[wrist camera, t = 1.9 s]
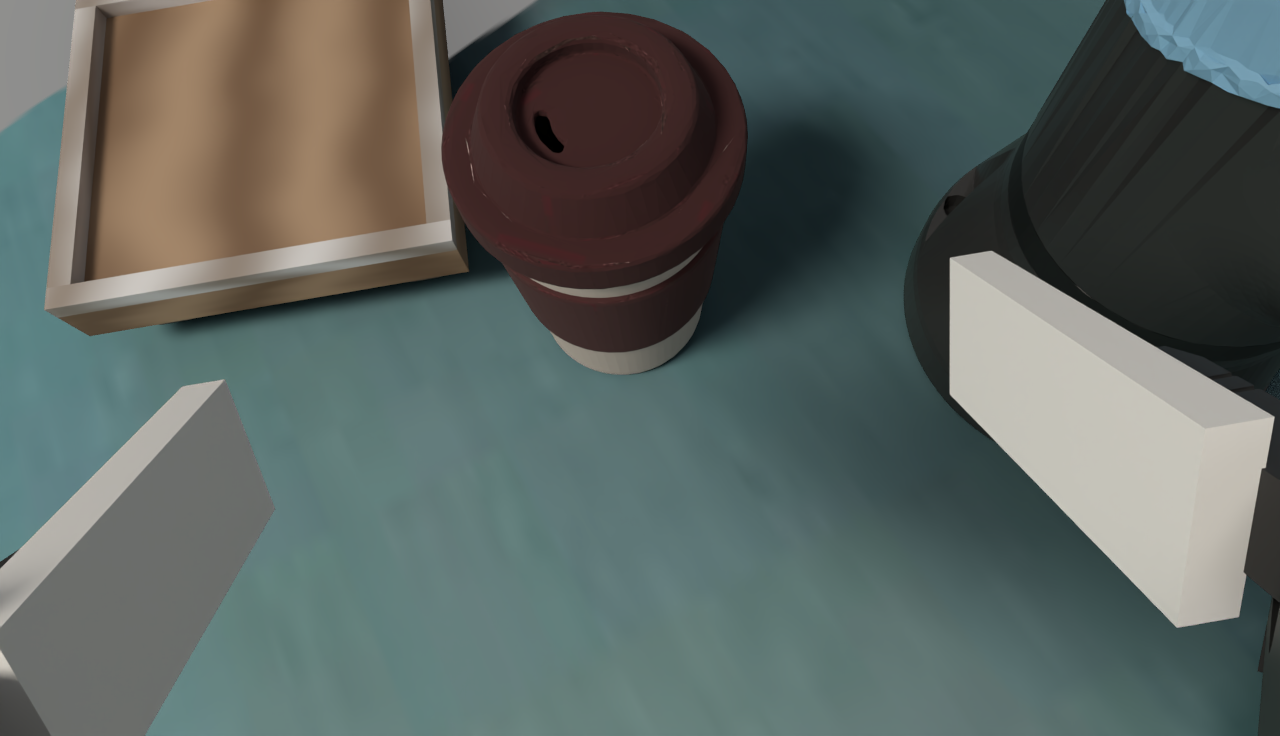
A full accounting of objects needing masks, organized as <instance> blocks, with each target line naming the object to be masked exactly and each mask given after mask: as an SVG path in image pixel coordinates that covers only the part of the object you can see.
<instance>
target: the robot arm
mask: <svg viewBox="0 0 1280 736" xmlns="http://www.w3.org/2000/svg"><path fill="white" fill-rule="evenodd" d="M904 310H905V318H906V324H907V328H908V332H909V336H910V339H911V342H912V345H913V348H914V350H915V353H916V355H917V357H918V360H919V362H920V364H921V365H922V367H923V369H924V371H925V373H926V374H927V376H928V378H929V379H930V381H931V382H932V384H933V385H934V387H935V388H936V389H937V391H938V392H939V393H940V394H941V396H942V397H943V398H944V399H945V401H946V402H947V403H948V404H949V405H950V406H951V407H952V408H953V409H954V410H955V411H956V412H957V413H958V414H959V415H960V416H961V417H962V418H963V419H964V420H965V421H967V422H968V423H969V424H970V425H972V426H973V427H974V428H975V429H977V430H978V431H979V432H981V433H982V434H984V435H985V436H987V437H988V438H990V439H991V440H993V441H994V442H996V443H998V444H999V445H1000V446H1001V447H1002V449H1003V450H1004V451H1005V452H1006V453H1007V454H1008V455H1009V456H1010V457H1011V458H1012V459H1013V460H1014V461H1015V462H1016V463H1017V464H1018V465H1019V466H1020V467H1021V468H1022V469H1023V470H1024V471H1025V472H1026V473H1027V474H1028V475H1029V476H1030V477H1031V478H1032V479H1033V480H1034V481H1035V482H1036V483H1037V484H1038V486H1039V487H1040V488H1041V489H1042V490H1043V491H1044V492H1045V493H1046V494H1047V495H1048V496H1049V497H1050V498H1051V499H1052V500H1053V501H1054V502H1055V503H1056V504H1057V505H1058V506H1059V507H1060V508H1061V509H1062V510H1063V511H1064V512H1065V513H1066V514H1067V515H1068V516H1069V517H1070V518H1071V519H1072V520H1073V521H1074V522H1075V524H1076V525H1077V526H1078V527H1079V528H1080V529H1081V530H1082V531H1083V532H1084V533H1085V534H1086V535H1087V536H1088V537H1089V538H1090V539H1091V540H1092V541H1093V542H1094V543H1095V544H1096V545H1097V546H1098V547H1099V548H1100V549H1101V550H1102V551H1103V552H1104V553H1105V554H1106V555H1107V556H1108V557H1109V558H1110V559H1111V561H1112V562H1113V563H1114V564H1115V565H1116V566H1117V567H1118V568H1119V569H1120V570H1121V571H1122V572H1123V573H1124V574H1125V575H1126V576H1127V577H1128V578H1129V579H1130V580H1131V581H1132V582H1133V583H1134V584H1135V585H1136V586H1137V587H1138V588H1139V589H1140V590H1141V591H1142V592H1143V593H1144V594H1145V595H1146V596H1147V597H1148V599H1149V600H1150V601H1151V602H1152V603H1153V604H1154V605H1155V606H1156V607H1157V608H1158V609H1159V610H1160V611H1161V612H1162V613H1163V614H1164V615H1165V616H1166V617H1167V618H1168V619H1169V620H1170V621H1171V622H1172V623H1173V624H1174V625H1175V626H1176V627H1177V628H1179V627H1184V626H1190V625H1196V624H1202V623H1207V622H1213V621H1219V620H1225V619H1230V618H1236V617H1239V613H1240V608H1241V602H1242V597H1243V591H1244V586H1245V580H1246V575H1247V576H1248V577H1250V578H1251V579H1252V580H1253V581H1254V582H1256V583H1257V584H1258V585H1259V586H1260V587H1261V588H1263V589H1264V590H1265V591H1266V592H1267V593H1269V594H1270V595H1271V596H1272V601H1271V606H1270V611H1269V616H1268V621H1267V626H1266V631H1265V636H1264V641H1263V646H1262V651H1261V656H1260V661H1259V667H1258V671H1259V672H1263V679H1262V691H1261V703H1260V715H1259V727H1258V736H1280V400H1279V399H1277V398H1276V397H1274V396H1272V395H1270V394H1268V393H1267V392H1265V391H1266V390H1267V388H1268V386H1269V384H1270V382H1271V380H1272V378H1273V377H1274V375H1275V374H1276V372H1277V371H1278V370H1279V368H1280V0H1106V1H1105V3H1104V5H1103V6H1102V8H1101V10H1100V11H1099V13H1098V15H1097V16H1096V18H1095V20H1094V21H1093V23H1092V25H1091V26H1090V28H1089V30H1088V31H1087V33H1086V35H1085V36H1084V38H1083V40H1082V41H1081V43H1080V45H1079V46H1078V48H1077V50H1076V51H1075V53H1074V55H1073V56H1072V58H1071V60H1070V61H1069V63H1068V65H1067V66H1066V68H1065V70H1064V71H1063V73H1062V75H1061V76H1060V78H1059V80H1058V81H1057V83H1056V85H1055V86H1054V88H1053V90H1052V92H1051V93H1050V95H1049V97H1048V98H1047V100H1046V102H1045V103H1044V105H1043V107H1042V108H1041V110H1040V112H1039V113H1038V115H1037V117H1036V119H1035V121H1034V122H1033V124H1032V126H1031V127H1030V129H1029V130H1028V132H1027V133H1026V134H1024V135H1023V136H1021V137H1020V138H1018V139H1017V140H1015V141H1014V142H1012V143H1011V144H1009V145H1008V146H1006V147H1005V148H1003V149H1002V150H1000V151H999V152H997V153H996V154H994V155H993V156H991V157H990V158H988V159H987V160H985V161H984V162H982V163H981V164H979V165H978V166H976V167H975V168H973V169H972V170H971V171H969V172H968V173H967V174H965V175H964V176H963V177H962V178H961V179H960V180H958V181H957V182H956V183H955V184H954V185H953V186H952V187H951V188H950V189H949V190H948V192H947V193H946V194H945V195H944V196H943V197H942V199H941V200H940V201H939V202H938V204H937V205H936V207H935V208H934V210H933V211H932V213H931V215H930V216H929V218H928V220H927V222H926V224H925V226H924V228H923V230H922V232H921V233H920V235H919V237H918V239H917V241H916V244H915V246H914V248H913V250H912V253H911V256H910V259H909V262H908V266H907V270H906V276H905V283H904ZM274 510H275V507H274V505H273V502H272V500H271V497H270V494H269V492H268V489H267V487H266V484H265V481H264V479H263V476H262V474H261V471H260V469H259V466H258V463H257V461H256V458H255V456H254V453H253V450H252V448H251V445H250V443H249V440H248V437H247V435H246V432H245V430H244V427H243V424H242V422H241V419H240V417H239V414H238V412H237V409H236V406H235V404H234V401H233V399H232V396H231V393H230V391H229V388H228V386H227V383H226V380H225V379H224V380H218V381H213V382H207V383H201V384H195V385H189V386H183V387H181V388H180V389H179V390H178V391H177V392H176V393H175V394H174V395H173V396H172V397H171V398H170V399H169V400H168V401H167V402H166V403H165V404H164V405H163V406H162V407H161V408H160V409H159V410H158V411H157V412H156V413H155V414H154V415H153V416H152V417H151V418H150V419H149V420H148V421H147V422H146V423H145V424H144V425H143V426H142V427H141V428H140V429H139V430H138V431H137V432H136V433H135V434H134V435H133V436H132V437H131V438H130V439H129V440H128V441H127V442H126V443H125V444H124V445H123V446H122V447H121V448H120V449H119V450H118V451H117V452H116V453H115V454H114V455H113V456H112V457H111V458H110V459H109V460H108V461H107V462H106V463H105V464H104V465H103V466H102V467H101V468H100V469H99V470H98V471H97V472H96V473H95V474H94V475H93V476H92V477H91V478H90V479H89V480H88V481H87V482H86V483H85V484H84V485H83V486H82V487H81V488H80V489H79V490H78V491H77V492H76V493H75V494H74V495H73V496H72V497H71V498H70V499H69V500H68V501H67V502H66V503H65V504H64V505H63V506H62V507H61V508H60V509H59V510H58V511H57V512H56V513H55V514H54V515H53V516H52V517H51V518H50V519H49V520H48V521H47V522H46V523H45V524H44V525H43V526H42V527H41V528H40V529H39V530H38V531H37V532H36V533H35V534H34V535H33V536H32V537H31V538H30V539H29V540H28V541H27V542H26V543H25V544H24V545H23V546H22V547H21V548H20V549H19V550H17V551H16V552H14V553H13V554H11V555H10V556H8V557H7V558H5V559H4V560H2V561H1V562H0V736H145V734H146V732H147V730H148V729H149V727H150V725H151V724H152V722H153V720H154V718H155V717H156V715H157V713H158V711H159V710H160V708H161V706H162V704H163V703H164V701H165V699H166V697H167V696H168V694H169V692H170V691H171V689H172V687H173V685H174V684H175V682H176V680H177V678H178V677H179V675H180V673H181V671H182V670H183V668H184V666H185V664H186V663H187V661H188V659H189V658H190V656H191V654H192V652H193V651H194V649H195V647H196V645H197V644H198V642H199V640H200V638H201V637H202V635H203V633H204V632H205V630H206V628H207V626H208V625H209V623H210V621H211V619H212V618H213V616H214V614H215V612H216V611H217V609H218V607H219V605H220V604H221V602H222V600H223V599H224V597H225V595H226V593H227V592H228V590H229V588H230V586H231V585H232V583H233V581H234V579H235V578H236V576H237V574H238V572H239V571H240V569H241V567H242V566H243V564H244V562H245V560H246V559H247V557H248V555H249V553H250V552H251V550H252V548H253V546H254V545H255V543H256V541H257V539H258V538H259V536H260V534H261V533H262V531H263V529H264V527H265V526H266V524H267V522H268V520H269V519H270V517H271V515H272V513H273V512H274Z"/></svg>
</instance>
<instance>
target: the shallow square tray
mask: <svg viewBox="0 0 1280 736" xmlns="http://www.w3.org/2000/svg"><path fill="white" fill-rule="evenodd" d="M451 104H452V91H451V81H450V71H449V61H448V50H447V40H446V30H445V20H444V10H443V0H76V5H75V16H74V25H73V34H72V44H71V54H70V64H69V74H68V83H67V93H66V103H65V112H64V122H63V132H62V142H61V151H60V161H59V171H58V181H57V190H56V200H55V210H54V220H53V229H52V239H51V249H50V259H49V268H48V278H47V288H46V298H45V308H44V310H45V311H47V312H49V313H51V314H52V315H54V316H56V317H58V318H59V319H61V320H63V321H64V322H66V323H68V324H70V325H71V326H73V327H75V328H77V329H78V330H80V331H82V332H84V333H85V334H87V335H89V336H93V335H99V334H105V333H111V332H116V331H122V330H128V329H134V328H140V327H146V326H152V325H158V324H160V325H163V324H169V323H175V322H181V321H187V320H190V319H193V318H199V317H205V316H210V315H216V314H222V313H228V312H234V311H240V310H246V309H252V308H257V307H263V306H269V305H275V304H281V303H287V302H293V301H299V300H305V299H310V298H316V297H322V296H328V295H334V294H340V293H346V292H352V291H357V290H363V289H369V288H375V287H381V286H387V285H393V284H399V283H404V282H410V281H412V282H416V281H422V280H427V279H433V278H439V277H440V276H446V275H451V274H457V273H463V272H469V266H468V256H467V245H466V235H465V225H464V220H463V219H462V217H461V215H460V212H459V210H458V208H457V206H456V204H455V202H454V200H453V198H452V196H451V194H450V191H449V189H448V186H447V183H446V179H445V175H444V171H443V165H442V155H441V145H442V134H443V129H444V124H445V121H446V117H447V114H448V111H449V109H450V106H451Z"/></svg>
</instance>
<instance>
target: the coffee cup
mask: <svg viewBox="0 0 1280 736" xmlns="http://www.w3.org/2000/svg"><path fill="white" fill-rule="evenodd" d="M747 139H748V132H747V120H746V114H745V109H744V106H743V103H742V99H741V97H740V94H739V92H738V90H737V88H736V85H735V83H734V82H733V80H732V78H731V77H730V75H729V73H728V72H727V70H726V69H725V67H724V66H723V65H722V64H721V63H720V62H719V61H718V60H717V59H716V57H715V56H714V55H713V54H712V53H711V52H710V51H709V50H708V49H707V48H705V47H704V46H703V45H701V44H700V43H699V42H697V41H696V40H695V39H693V38H692V37H691V36H689V35H688V34H686V33H684V32H683V31H680V30H678V29H676V28H674V27H671V26H669V25H667V24H664V23H662V22H659V21H657V20H654V19H650V18H646V17H641V16H637V15H632V14H625V13H611V12H589V13H582V14H576V15H569V16H563V17H560V18H556V19H553V20H549V21H546V22H543V23H541V24H538V25H535V26H533V27H531V28H529V29H527V30H524V31H522V32H520V33H518V34H516V35H514V36H513V37H511V38H510V39H508V40H507V41H505V42H504V43H503V44H501V45H500V46H498V47H497V48H495V49H494V50H492V51H491V52H490V53H489V54H488V55H487V56H486V57H485V58H484V59H483V60H482V61H480V62H479V63H478V64H477V65H476V67H475V68H474V69H473V70H472V72H471V73H470V74H469V75H468V77H467V78H466V80H465V81H464V82H463V84H462V85H461V87H460V88H459V89H458V91H457V93H456V95H455V97H454V100H453V102H452V104H451V106H450V109H449V111H448V114H447V117H446V121H445V124H444V129H443V134H442V145H441V155H442V165H443V171H444V175H445V179H446V183H447V186H448V189H449V191H450V194H451V196H452V198H453V200H454V202H455V204H456V206H457V208H458V210H459V212H460V215H461V217H462V219H463V220H464V222H465V224H466V225H467V227H468V229H469V230H470V232H471V233H472V234H473V236H474V237H475V238H476V239H477V241H478V242H479V243H480V244H481V245H482V246H483V247H484V249H485V250H486V251H488V252H489V253H490V254H491V255H493V256H494V257H495V258H496V259H497V260H499V261H500V262H502V264H503V265H504V267H505V268H506V270H507V272H508V273H509V275H510V276H511V278H512V280H513V281H514V283H515V284H516V286H517V288H518V289H519V291H520V293H521V294H522V296H523V297H524V299H525V301H526V302H527V304H528V305H529V307H530V309H531V310H532V312H533V313H534V314H535V316H536V317H537V318H538V319H539V320H540V322H541V323H542V324H543V325H544V326H545V327H546V328H547V329H548V330H549V331H550V332H551V333H552V335H553V337H554V338H555V340H556V342H557V343H558V344H559V346H560V347H561V348H562V349H563V350H564V351H565V352H566V353H567V354H568V355H569V356H570V357H571V358H573V359H574V360H576V361H577V362H579V363H580V364H582V365H584V366H586V367H588V368H590V369H593V370H596V371H599V372H603V373H607V374H617V375H627V374H635V373H641V372H644V371H648V370H650V369H653V368H655V367H657V366H660V365H662V364H663V363H665V362H666V361H668V360H669V359H671V358H672V357H674V356H675V355H676V354H677V353H678V352H679V351H680V350H681V349H682V348H683V347H684V346H685V345H686V343H687V342H688V341H689V339H690V338H691V336H692V334H693V333H694V331H695V328H696V326H697V324H698V321H699V318H700V314H701V309H702V304H703V301H704V300H705V298H706V295H707V293H708V291H709V288H710V285H711V281H712V278H713V273H714V268H715V263H716V258H717V253H718V248H719V243H720V238H721V233H722V228H723V223H724V221H725V220H726V218H727V216H728V215H729V213H730V212H731V210H732V208H733V206H734V204H735V202H736V199H737V197H738V194H739V191H740V188H741V184H742V181H743V176H744V170H745V162H746V152H747Z"/></svg>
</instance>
